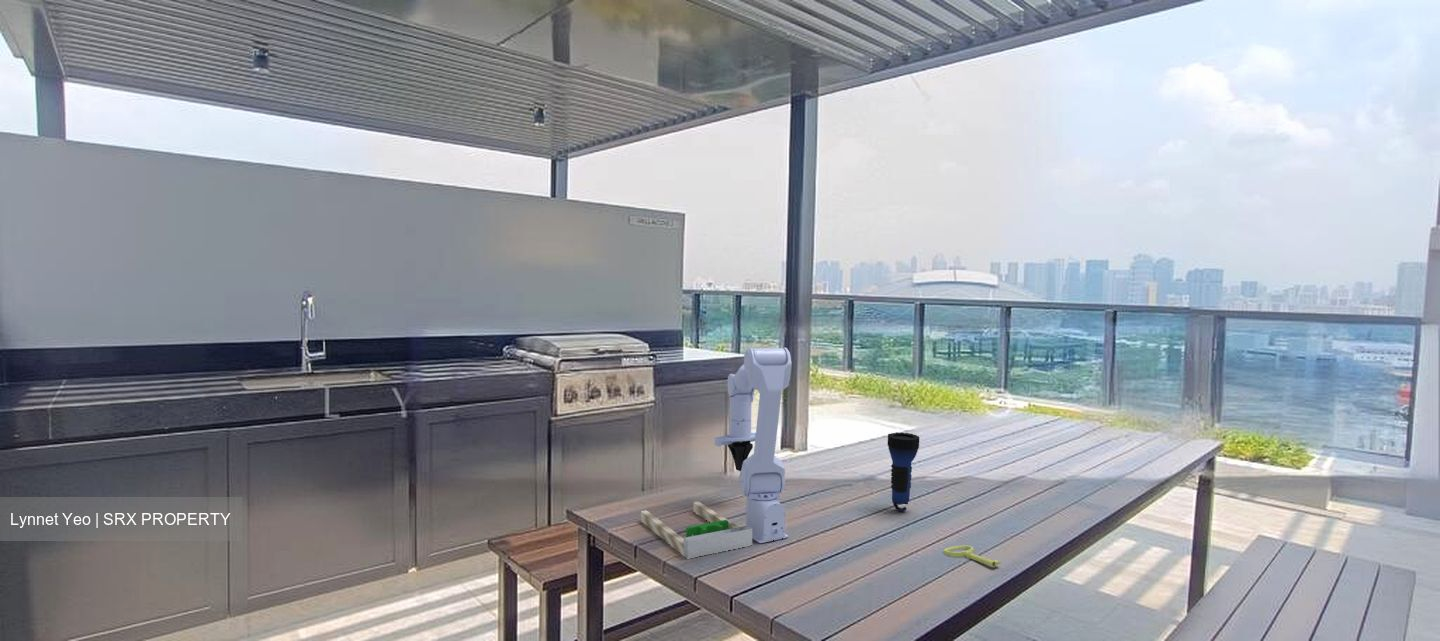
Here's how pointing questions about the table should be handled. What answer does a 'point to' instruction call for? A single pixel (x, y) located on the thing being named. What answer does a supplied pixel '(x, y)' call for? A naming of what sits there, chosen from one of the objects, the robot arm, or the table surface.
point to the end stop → (717, 541)
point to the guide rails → (672, 536)
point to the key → (969, 555)
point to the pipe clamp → (707, 528)
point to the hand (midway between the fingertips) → (739, 469)
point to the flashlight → (902, 465)
